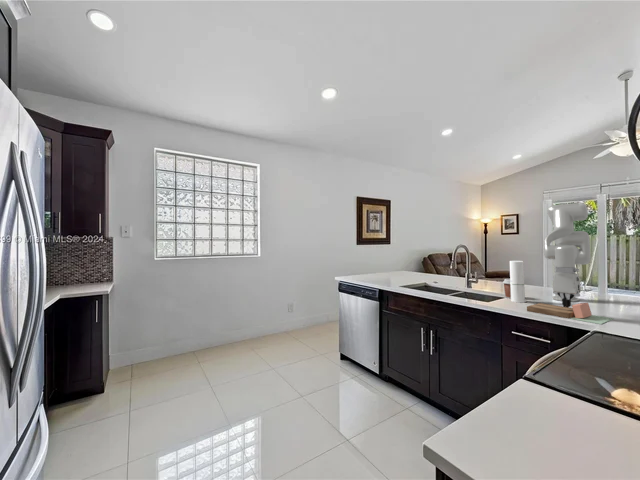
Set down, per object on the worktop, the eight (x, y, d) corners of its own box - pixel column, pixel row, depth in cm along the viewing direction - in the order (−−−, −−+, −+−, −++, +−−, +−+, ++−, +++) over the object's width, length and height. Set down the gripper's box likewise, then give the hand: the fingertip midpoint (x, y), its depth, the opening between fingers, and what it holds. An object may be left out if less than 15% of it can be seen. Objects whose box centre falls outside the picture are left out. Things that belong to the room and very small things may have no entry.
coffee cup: (500, 296, 191) (500, 278, 191) (515, 296, 189) (515, 278, 189) (506, 299, 182) (506, 280, 182) (522, 299, 180) (521, 280, 180)
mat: (583, 314, 142) (583, 313, 142) (613, 319, 132) (613, 318, 132) (570, 318, 135) (569, 318, 135) (600, 324, 125) (600, 323, 125)
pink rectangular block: (580, 303, 140) (588, 302, 138) (584, 315, 139) (592, 315, 136) (571, 305, 136) (579, 305, 134) (575, 318, 135) (583, 318, 132)
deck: (540, 307, 158) (540, 303, 158) (581, 314, 142) (581, 309, 142) (526, 311, 151) (526, 306, 151) (568, 318, 135) (568, 313, 135)
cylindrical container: (520, 300, 178) (519, 260, 178) (527, 302, 171) (526, 261, 171) (508, 300, 178) (507, 260, 179) (515, 302, 171) (513, 261, 171)
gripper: (587, 271, 137) (589, 308, 137) (551, 268, 150) (552, 303, 150) (580, 272, 133) (582, 310, 133) (544, 270, 147) (545, 305, 147)
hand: (566, 306), depth 142 cm, fingers closed
